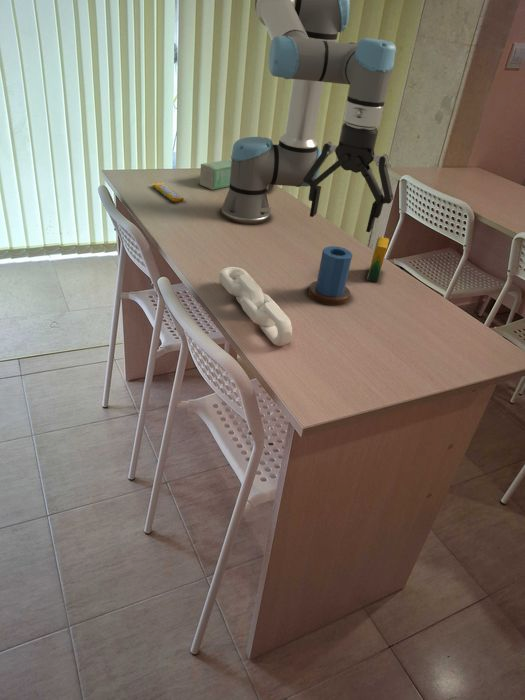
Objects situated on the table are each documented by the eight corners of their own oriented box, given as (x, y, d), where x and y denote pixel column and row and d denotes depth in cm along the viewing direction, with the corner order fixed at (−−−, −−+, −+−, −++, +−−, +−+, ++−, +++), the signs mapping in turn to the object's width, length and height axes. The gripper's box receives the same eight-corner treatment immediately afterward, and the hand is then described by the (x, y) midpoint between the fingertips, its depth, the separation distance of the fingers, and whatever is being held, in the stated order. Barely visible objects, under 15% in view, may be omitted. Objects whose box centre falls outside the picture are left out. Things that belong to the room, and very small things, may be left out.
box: (240, 184, 196) (242, 163, 192) (213, 190, 187) (214, 169, 183) (226, 179, 200) (228, 158, 196) (199, 184, 191) (200, 163, 187)
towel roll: (314, 282, 134) (320, 245, 129) (340, 283, 135) (348, 247, 130) (319, 295, 129) (326, 257, 123) (346, 297, 130) (355, 259, 124)
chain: (297, 347, 112) (301, 321, 109) (271, 352, 109) (274, 326, 106) (238, 281, 133) (241, 258, 130) (215, 284, 131) (217, 261, 127)
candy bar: (184, 202, 174) (185, 197, 173) (173, 204, 172) (173, 198, 171) (162, 186, 185) (162, 180, 184) (151, 187, 183) (151, 181, 182)
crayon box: (377, 282, 142) (388, 241, 135) (366, 280, 142) (376, 239, 136) (380, 271, 148) (391, 231, 141) (370, 269, 148) (379, 229, 142)
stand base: (305, 284, 136) (306, 279, 135) (343, 286, 138) (345, 281, 137) (312, 304, 128) (313, 298, 127) (353, 306, 130) (354, 300, 129)
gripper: (298, 115, 112) (284, 213, 124) (416, 141, 105) (389, 242, 117) (310, 110, 117) (296, 204, 130) (423, 134, 111) (397, 231, 123)
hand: (340, 222), depth 123 cm, fingers open, 13 cm apart
